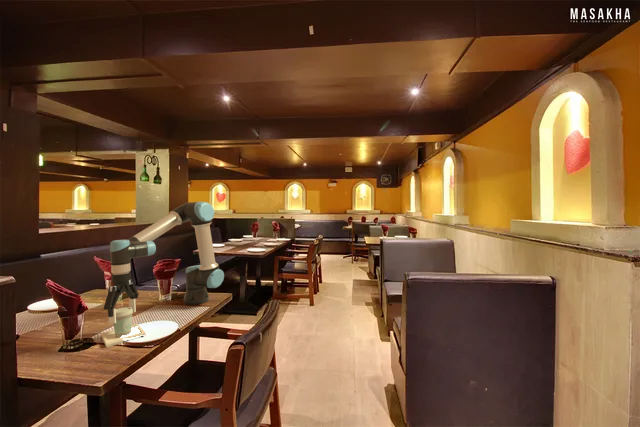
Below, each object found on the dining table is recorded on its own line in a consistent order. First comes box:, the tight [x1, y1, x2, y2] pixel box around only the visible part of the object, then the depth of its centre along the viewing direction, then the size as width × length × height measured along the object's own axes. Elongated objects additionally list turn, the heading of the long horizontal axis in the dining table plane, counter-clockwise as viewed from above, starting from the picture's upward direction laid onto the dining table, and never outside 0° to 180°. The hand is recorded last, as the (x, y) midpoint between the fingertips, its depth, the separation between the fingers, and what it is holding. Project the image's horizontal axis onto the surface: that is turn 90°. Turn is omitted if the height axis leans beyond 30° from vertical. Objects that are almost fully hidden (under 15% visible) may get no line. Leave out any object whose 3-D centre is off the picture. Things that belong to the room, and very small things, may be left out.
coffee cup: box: [112, 306, 134, 338], centre depth 135 cm, size 8×8×12 cm
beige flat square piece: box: [100, 323, 146, 348], centre depth 135 cm, size 15×15×2 cm
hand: (123, 317), depth 135 cm, fingers open, 13 cm apart
